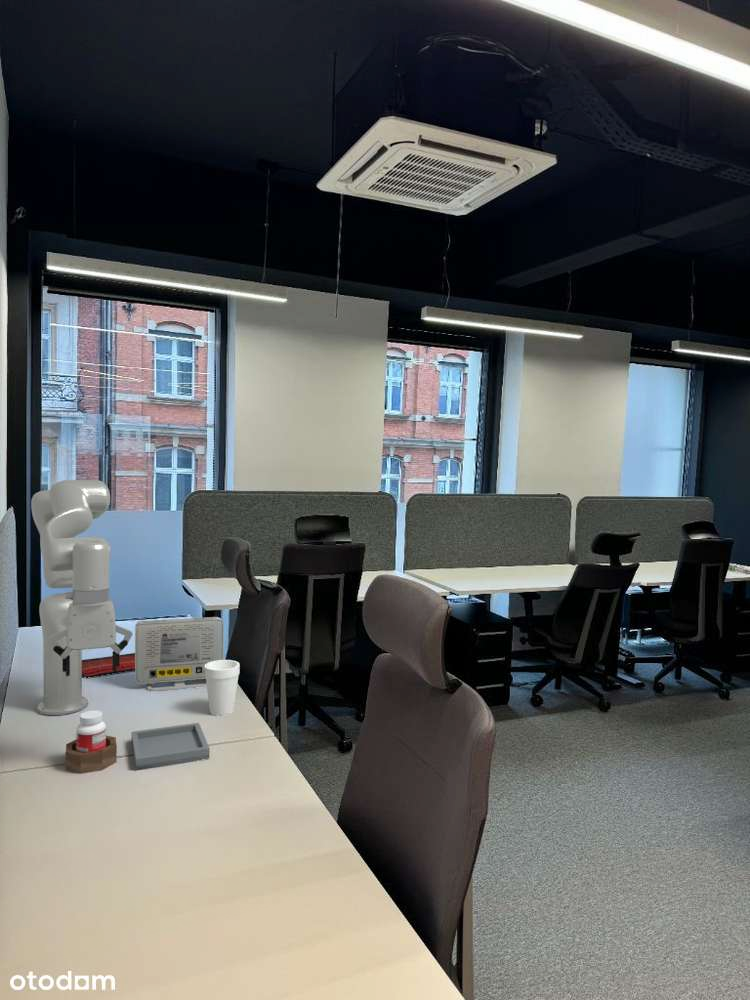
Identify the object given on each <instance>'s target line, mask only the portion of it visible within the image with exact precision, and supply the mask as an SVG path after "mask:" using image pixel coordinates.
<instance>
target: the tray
mask: <svg viewBox="0 0 750 1000" xmlns="http://www.w3.org/2000/svg"><path fill="white" fill-rule="evenodd" d="M130 740H131V747H132V749H131V750H132V753H133V754H132V755H133V760H134V766H135V771H142V770H147V769H155V768H160V767H167V766H173V765H179V764H186V763H191V762H198V761H197V760H199V761H203V760H202V759H206V760H209V759H210V751H211V750H210V746H209V744H208V742H207V739H206V736H205V734H204V732H203V730H202V728H201V725H200V722H195V723H194V722H193V723H186V724H180V725H178V724H177V725H173V726H171V725H170V726H165V727H164V726H163V727H158V728H151V729H143V730H133V731H131V739H130ZM208 758H209V759H208Z"/></svg>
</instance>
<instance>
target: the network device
mask: <svg viewBox="0 0 750 1000" xmlns="http://www.w3.org/2000/svg"><path fill="white" fill-rule="evenodd" d="M134 653H135V671H134V680H135V682H136V684H138V685H143V684H146V690H147V691H148V690H149V691H148V692H151V691H159V692H167V691H168V690H171V691H180V690H179V689H183V690H188V689H187V688H194V689H197V688H196V687H205V686H207V684H195V685H194V684H193V685H186V683H185V682H186V681H185V680H190V681H197V680H196V679H206V676H205V664H207V663H208V662H212V661H217V660H224V622H223V620H222V618H220V617H218V616H212V617H211V616H209V617H193V618H192V617H191V618H190V617H189V618H174V619H173V618H172V619H171V618H169V619H153V620H151V619H150V620H139V621H137V622H136V624H135V627H134ZM159 682H160V683H159ZM161 682H166V683H174V685H173V686H171V687H159V688H152V685H153V684H152V683H154V684H162V683H161ZM151 684H152V685H151ZM205 688H206V687H205Z"/></svg>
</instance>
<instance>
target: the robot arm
mask: <svg viewBox="0 0 750 1000" xmlns="http://www.w3.org/2000/svg"><path fill="white" fill-rule="evenodd" d="M110 504H111V494H110V489H109V488H108V486H107V484H106V483H105V482H104V481H102V480H98V479H64V480H59V481H57V482H55V483H54V484H53V485H52V486H51V487H50V489H47V490H41V491H38V492H36V493H35V494H33V496H32V498H31V503H30V505H31V506H30V507H31V508H30V509H31V514H32V519H33V521H34V524H35V526H36V529H37V531H38V533H39V536H40V538H39V541H40V544H39V546H40V551H41V557H42V567H43V579H44V582H45V585H46V586H47V587H48V588H51V589H69V588H72V590H71V591H69V592H62V593H61V592H60V593H55V594H50V595H47V596H45V597H44V598H43V599H42V600H41V601H40V603H39V617H40V618H39V619H40V625H41V630H42V641H43V643H42V645H43V646H42V647H43V649H42V650H43V653H42V654H43V656H42V657H43V660H42V661H43V666H42V667H43V700H42V701H41V702H39V704H38V705H36V706H37V707H36V708H37V712H38V713H39V714H42V715H45V716H63V715H70V714H73V713H76V712H79V711H81V710H84V709H85V708H86V707H87V706H88V704H89V699H88V698H86V697H85V696H83V677H82V660H83V658H82V657H83V656H82V655H83V654H82V653H83V650H94V649H106V648H110V649H112V656H113V671H116V667H117V666H120V655H121V653H122V651H123V650H124V649H125V648H126V647H127V646H128V645H129V643H130V640H131V638H132V637H133V636H134V635H133V631H131V630H129V629H126V628H124V627H122V626H119V625H116V624H117V622H116V612H115V606H114V602H113V601H112V600H110V559H111V553H112V552H111V551H112V550H111V546H110V543H108V542H107V540H106V539H105V538H103V537H99V536H90V537H89V536H88V537H86V536H85V537H82V536H81V537H79V536H78V535H81V534H83V533H84V532H86V531H87V530H89V528H90V527H91V525H92V524H93V521H94V520H96V519H99V518H100V517H101V516H103V514H105V512H106V511H107V510H108V509H109V506H110ZM76 536H78V537H76ZM117 634H120V635H122V636H124V637H123V639H122V640H121V641H120V642H119V643H117V642H116V640H117Z"/></svg>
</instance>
